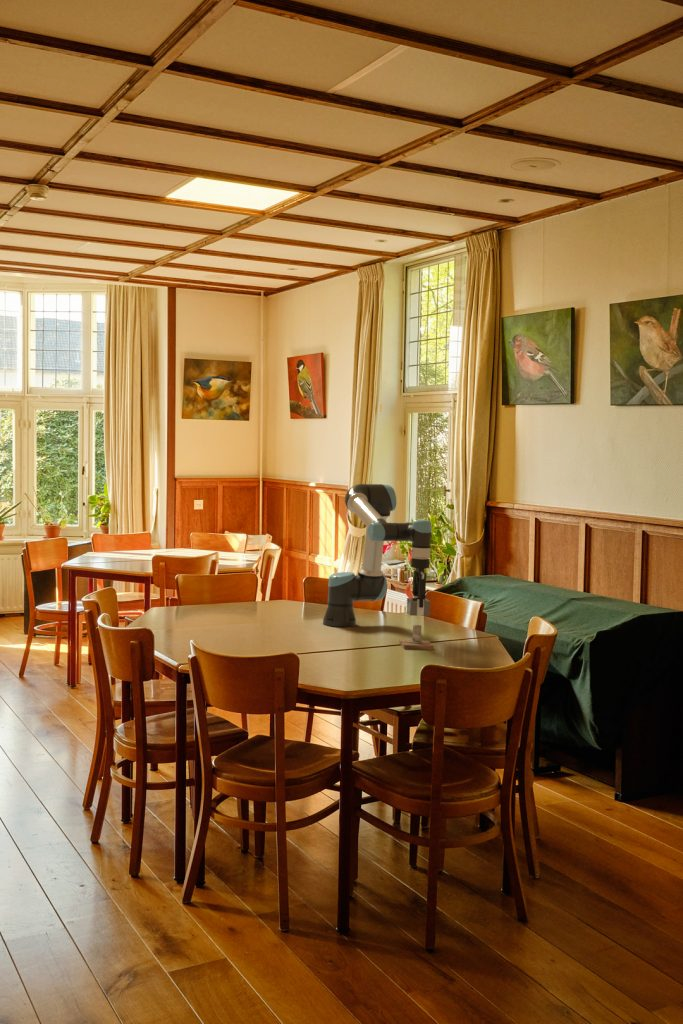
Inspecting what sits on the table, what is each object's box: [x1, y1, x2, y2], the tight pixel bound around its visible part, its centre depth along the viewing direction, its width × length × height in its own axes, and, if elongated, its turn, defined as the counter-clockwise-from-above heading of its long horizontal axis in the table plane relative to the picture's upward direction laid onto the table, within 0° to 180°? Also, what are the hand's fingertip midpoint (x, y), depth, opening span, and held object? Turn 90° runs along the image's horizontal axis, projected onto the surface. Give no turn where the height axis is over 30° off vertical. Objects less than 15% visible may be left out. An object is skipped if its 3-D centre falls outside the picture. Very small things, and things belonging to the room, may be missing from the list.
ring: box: [406, 597, 431, 617], centre depth 408 cm, size 8×8×6 cm
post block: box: [398, 624, 435, 651], centre depth 408 cm, size 12×12×9 cm
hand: (418, 613), depth 408 cm, fingers closed on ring, 8 cm apart
